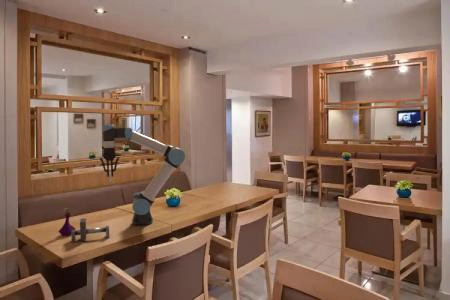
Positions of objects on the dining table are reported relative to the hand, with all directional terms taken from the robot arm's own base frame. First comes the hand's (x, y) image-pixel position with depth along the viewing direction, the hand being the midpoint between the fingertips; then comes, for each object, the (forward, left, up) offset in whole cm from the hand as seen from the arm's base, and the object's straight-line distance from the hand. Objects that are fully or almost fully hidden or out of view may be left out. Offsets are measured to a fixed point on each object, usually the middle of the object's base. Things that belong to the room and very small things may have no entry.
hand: (110, 181), depth 214 cm
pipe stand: (+13, +13, -34) cm, 39 cm away
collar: (+17, +13, -34) cm, 40 cm away
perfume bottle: (+28, -2, -35) cm, 44 cm away
